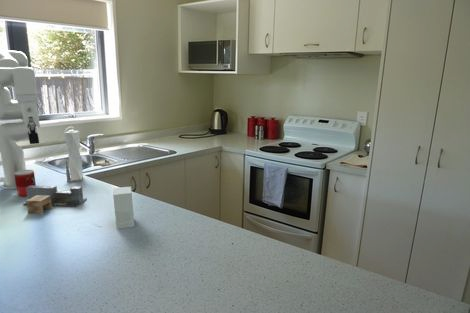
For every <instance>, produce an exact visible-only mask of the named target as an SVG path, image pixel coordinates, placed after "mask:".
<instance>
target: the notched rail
mask: <svg viewBox="0 0 470 313" xmlns="http://www.w3.org/2000/svg"><path fill="white" fill-rule="evenodd" d="M26 191H27V197H26V198H27V200H28V199H30V198H32V197H34V196H36V195H46V196H50V197H51V204H52V207H58V208H59V207H61V208H62V207H64V208H65V207H67V208H77V207H79V206H80V205H81V204H84V202H86V201H87V200H88V198H87V197H86V198H85V197H84V194H83V187H82V186H76V185H75V186H72V187H71V188H69V190H60V189H59V190H58V187H57V185H36V186H34V185H30V186H28V187H26ZM22 205H23V206H24V207H25V206H26V207H27V203H26V202H24V203H23V204H22Z"/></svg>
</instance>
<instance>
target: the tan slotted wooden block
mask: <svg viewBox="0 0 470 313" xmlns="http://www.w3.org/2000/svg"><path fill="white" fill-rule="evenodd" d="M25 203H27V206H26V208H27V209H26V210H27V214H30V215H43V214H44V209H45V210H46V209H47V210H51V209H52V208H53V206H52V204H51V197H50V196H46V195H36V196H34V197H32V198H30V199H28V198H27V199H26V201H25Z"/></svg>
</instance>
